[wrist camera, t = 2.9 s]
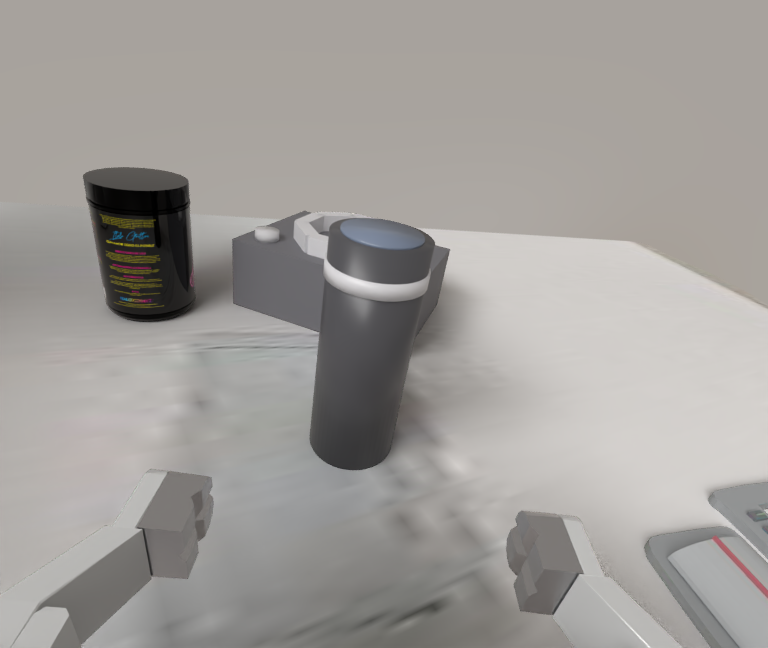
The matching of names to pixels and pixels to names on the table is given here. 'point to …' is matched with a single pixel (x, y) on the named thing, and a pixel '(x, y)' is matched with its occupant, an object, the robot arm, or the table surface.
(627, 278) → the table surface
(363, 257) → the lens
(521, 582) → the robot arm
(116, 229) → the supplement container
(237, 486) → the table surface
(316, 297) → the camera body
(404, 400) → the table surface
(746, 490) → the office telephone
